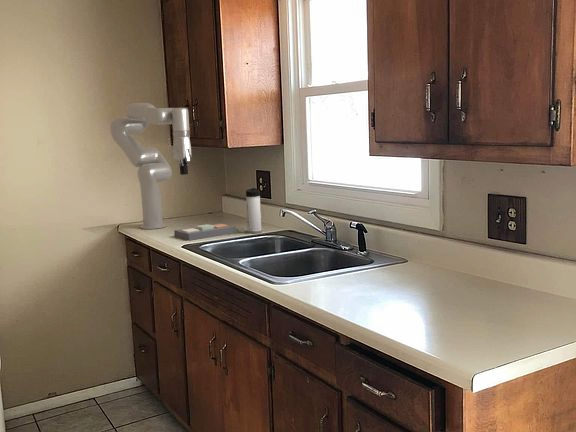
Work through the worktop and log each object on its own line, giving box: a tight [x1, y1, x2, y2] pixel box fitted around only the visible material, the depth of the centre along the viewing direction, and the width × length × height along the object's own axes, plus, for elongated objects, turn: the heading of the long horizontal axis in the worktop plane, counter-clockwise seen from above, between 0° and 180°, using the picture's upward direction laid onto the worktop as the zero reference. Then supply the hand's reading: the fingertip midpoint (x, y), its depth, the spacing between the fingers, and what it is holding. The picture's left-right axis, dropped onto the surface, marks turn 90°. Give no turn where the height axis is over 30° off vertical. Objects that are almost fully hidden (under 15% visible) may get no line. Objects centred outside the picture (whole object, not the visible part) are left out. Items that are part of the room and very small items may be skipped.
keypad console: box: [173, 223, 237, 242], centre depth 296 cm, size 14×24×3 cm, turn 127°
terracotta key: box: [212, 223, 228, 228], centre depth 301 cm, size 6×6×2 cm
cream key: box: [181, 227, 199, 233], centre depth 292 cm, size 6×6×2 cm
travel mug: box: [245, 187, 262, 235], centre depth 297 cm, size 6×7×20 cm
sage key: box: [195, 223, 214, 230], centre depth 296 cm, size 6×6×2 cm
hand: (184, 174), depth 304 cm, fingers closed
